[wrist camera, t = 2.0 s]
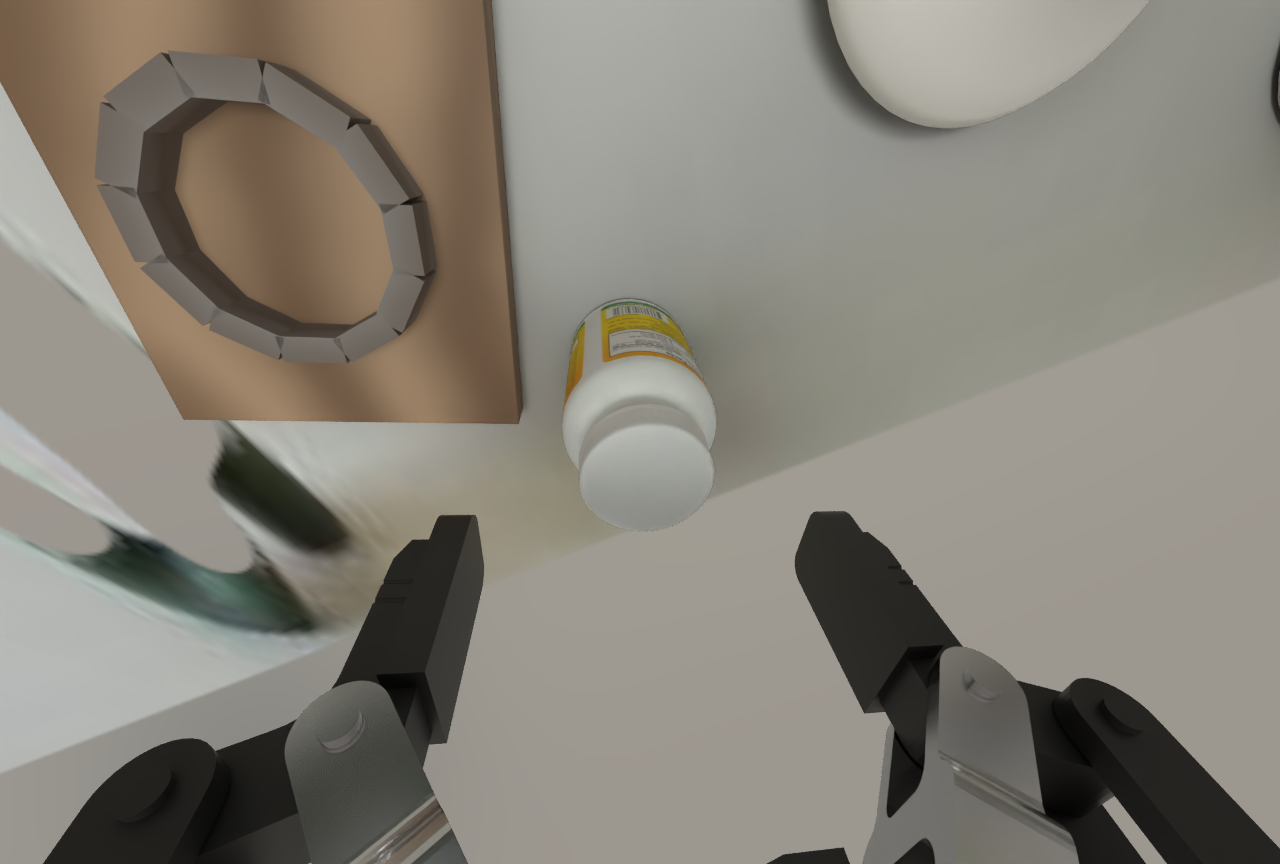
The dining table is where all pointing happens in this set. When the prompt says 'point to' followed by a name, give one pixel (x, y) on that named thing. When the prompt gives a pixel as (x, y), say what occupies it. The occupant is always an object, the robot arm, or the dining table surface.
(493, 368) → the collar board
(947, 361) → the dining table surface
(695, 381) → the supplement bottle
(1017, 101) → the flower in vase
